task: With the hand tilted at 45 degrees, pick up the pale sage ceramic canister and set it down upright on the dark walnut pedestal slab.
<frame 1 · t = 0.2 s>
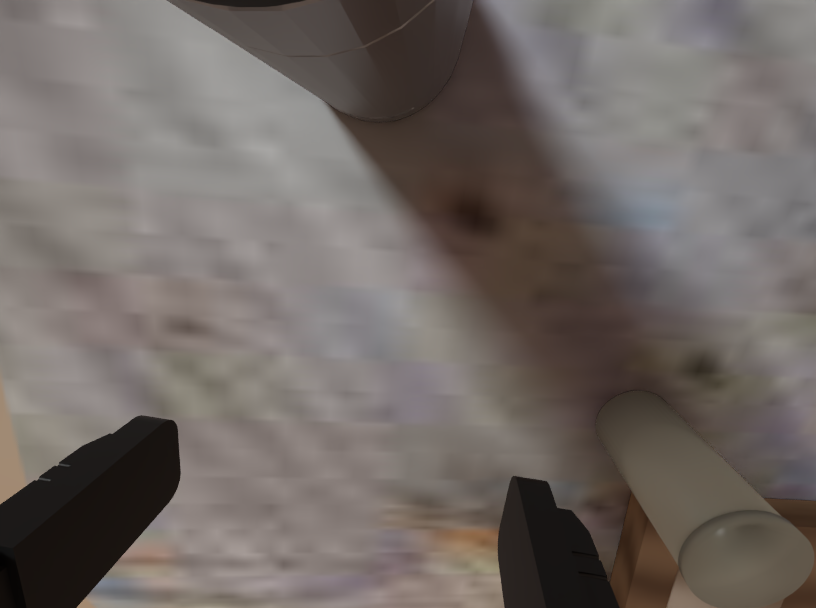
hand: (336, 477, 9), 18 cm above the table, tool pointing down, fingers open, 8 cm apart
pedestal: (707, 556, 32), on the table
canister: (633, 422, 29), on the table
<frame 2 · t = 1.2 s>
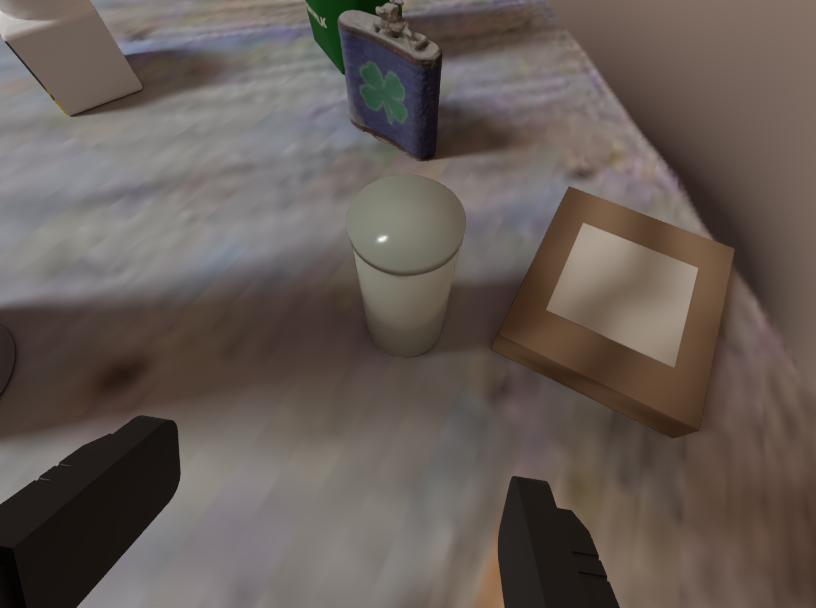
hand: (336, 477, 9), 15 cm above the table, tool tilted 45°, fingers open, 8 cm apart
pedestal: (606, 306, 29), on the table
flask: (393, 137, 37), on the table
milk carton: (357, 49, 43), on the table
medicine bottle: (97, 86, 40), on the table
canister: (405, 322, 28), on the table
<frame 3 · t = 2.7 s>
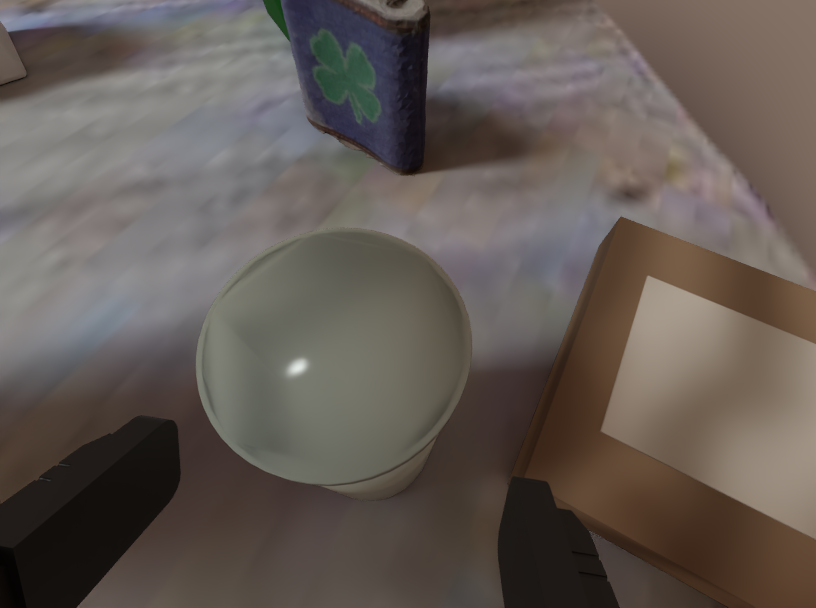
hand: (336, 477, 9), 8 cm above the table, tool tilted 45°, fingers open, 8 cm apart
pedestal: (685, 405, 19), on the table
flask: (365, 141, 27), on the table
milk carton: (324, 25, 33), on the table
canister: (371, 435, 18), on the table
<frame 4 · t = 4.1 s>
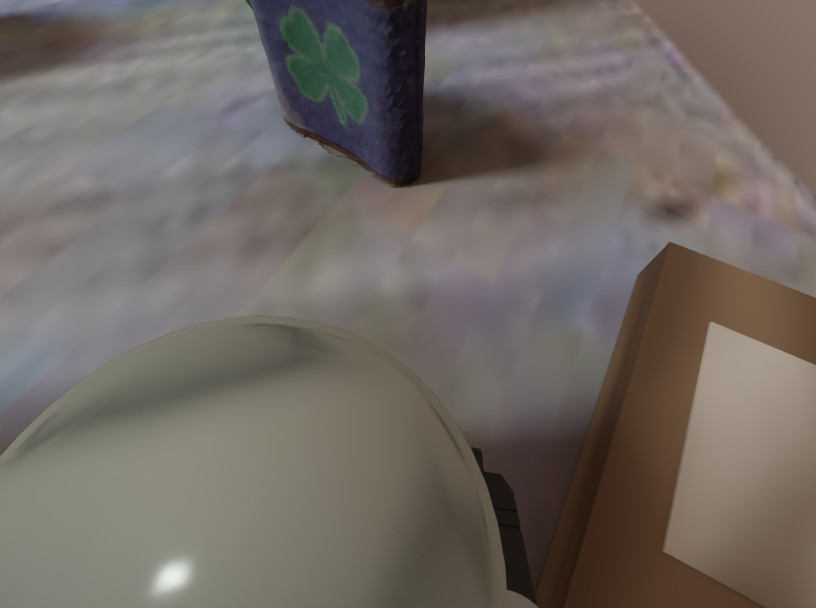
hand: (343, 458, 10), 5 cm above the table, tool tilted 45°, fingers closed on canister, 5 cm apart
pedestal: (761, 492, 14), on the table
flask: (353, 146, 22), on the table
canister: (350, 534, 13), on the table, touching gripper
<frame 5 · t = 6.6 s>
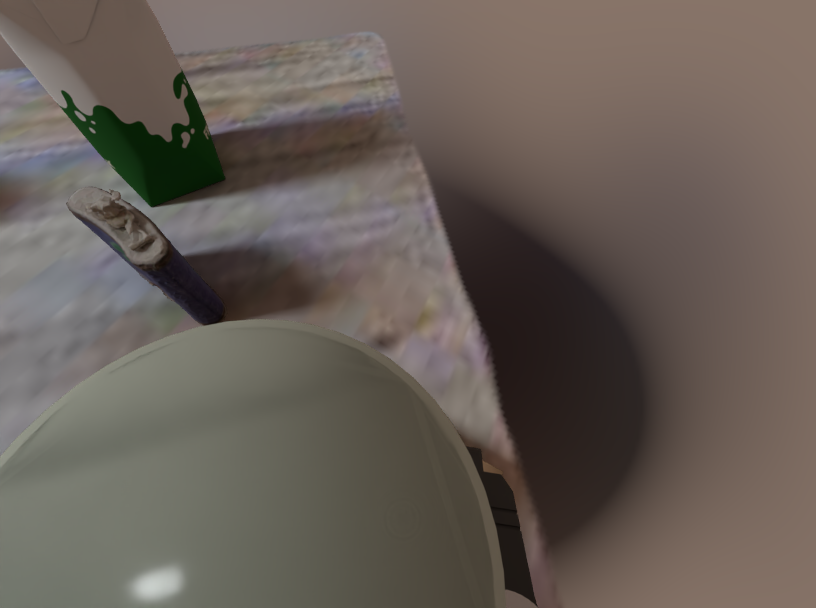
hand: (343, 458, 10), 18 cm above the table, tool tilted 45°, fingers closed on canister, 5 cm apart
flask: (186, 292, 33), on the table
milk carton: (179, 171, 40), on the table
canister: (350, 536, 13), point 14 cm above the table, touching gripper
when the fingers open (8 cm above the table, at t = 8.9 s): canister stays where it is, resting on pedestal.
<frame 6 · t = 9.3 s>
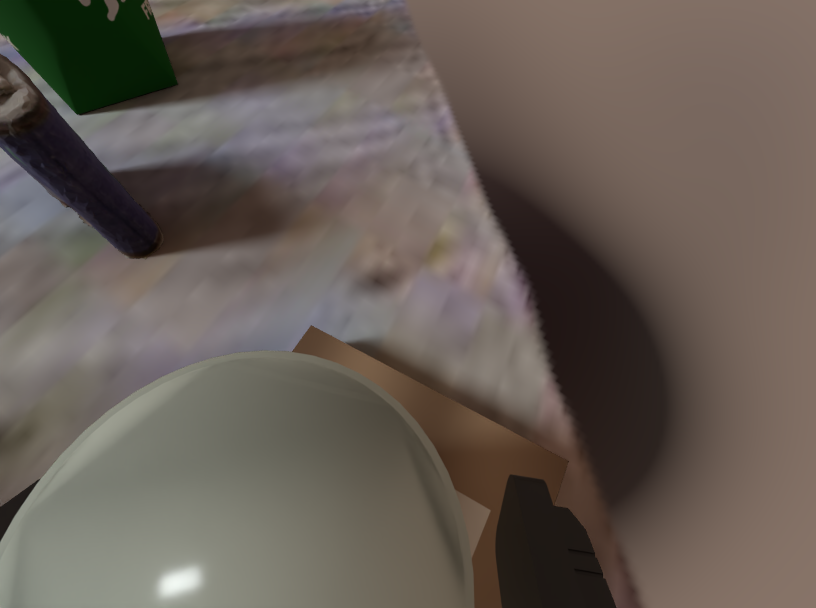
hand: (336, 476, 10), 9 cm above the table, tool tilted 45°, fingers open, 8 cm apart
pedestal: (346, 556, 16), on the table
flask: (111, 216, 24), on the table
milk carton: (120, 76, 31), on the table
canister: (349, 538, 14), point 3 cm above the table, touching pedestal
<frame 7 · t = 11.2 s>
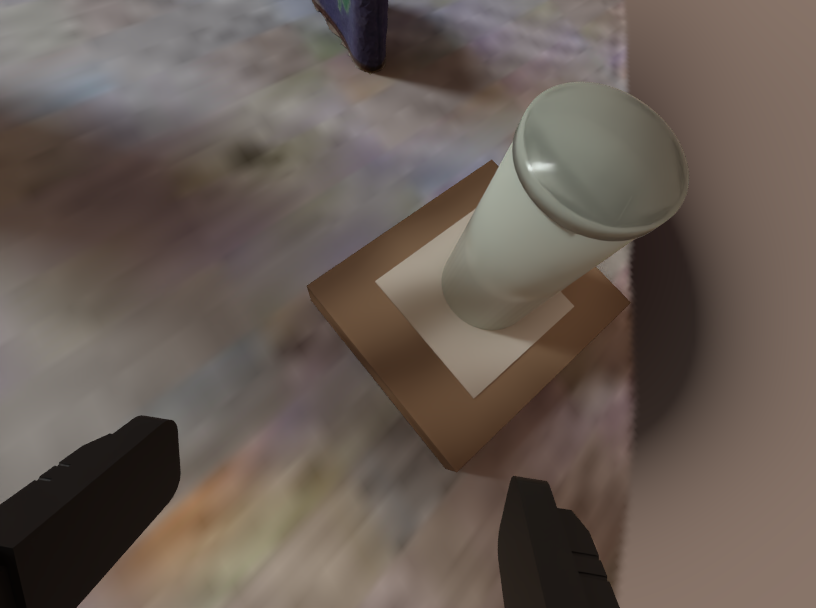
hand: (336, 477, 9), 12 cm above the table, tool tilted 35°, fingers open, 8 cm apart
pedestal: (464, 308, 25), on the table
flask: (348, 32, 31), on the table
canister: (487, 284, 22), point 3 cm above the table, touching pedestal
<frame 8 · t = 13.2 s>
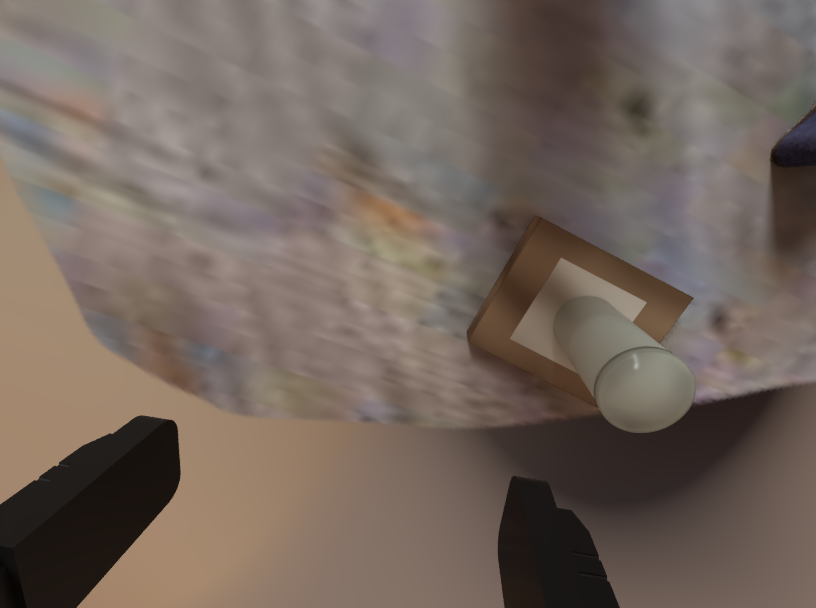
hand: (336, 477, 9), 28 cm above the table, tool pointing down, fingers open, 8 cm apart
pedestal: (567, 311, 36), on the table
canister: (585, 325, 34), point 3 cm above the table, touching pedestal
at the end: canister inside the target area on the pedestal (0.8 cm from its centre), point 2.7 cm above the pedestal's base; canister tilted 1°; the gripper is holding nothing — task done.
